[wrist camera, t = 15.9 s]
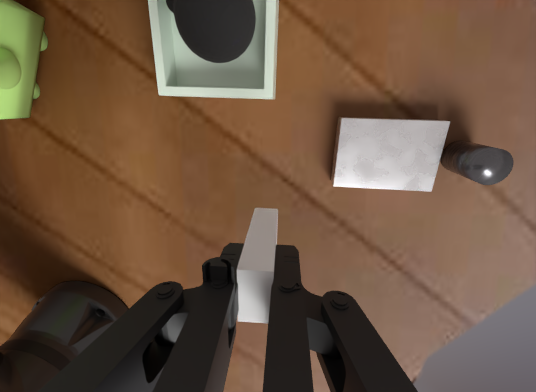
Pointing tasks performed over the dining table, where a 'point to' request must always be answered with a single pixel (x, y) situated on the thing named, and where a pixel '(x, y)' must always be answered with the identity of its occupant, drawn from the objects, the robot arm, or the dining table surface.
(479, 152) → the cylinder
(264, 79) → the tray
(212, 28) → the light bulb
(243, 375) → the dining table surface
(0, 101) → the kettle
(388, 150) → the white stone flat block
